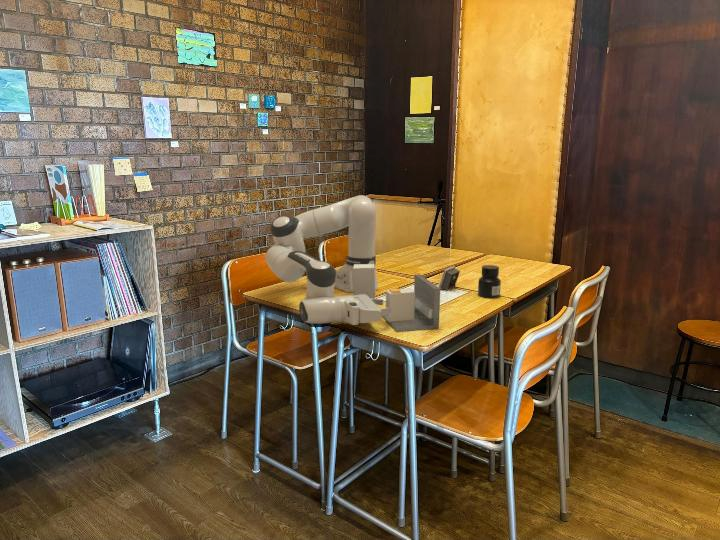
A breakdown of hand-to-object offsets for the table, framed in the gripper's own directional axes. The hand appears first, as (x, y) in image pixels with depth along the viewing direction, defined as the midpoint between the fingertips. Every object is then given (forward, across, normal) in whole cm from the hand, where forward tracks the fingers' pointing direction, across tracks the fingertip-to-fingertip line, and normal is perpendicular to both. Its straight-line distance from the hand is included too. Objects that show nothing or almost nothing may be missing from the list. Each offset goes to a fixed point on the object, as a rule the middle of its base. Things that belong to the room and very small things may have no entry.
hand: (386, 305), depth 190 cm
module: (+5, 0, -5) cm, 7 cm away
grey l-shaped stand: (+8, 0, -6) cm, 10 cm away
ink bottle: (+51, -23, -6) cm, 56 cm away
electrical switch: (+39, -37, -6) cm, 54 cm away
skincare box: (-2, -22, -6) cm, 23 cm away
